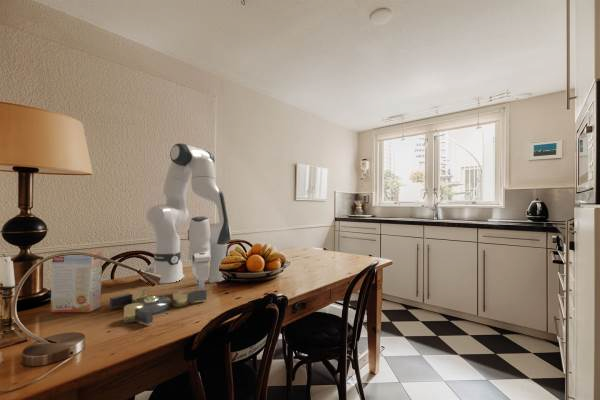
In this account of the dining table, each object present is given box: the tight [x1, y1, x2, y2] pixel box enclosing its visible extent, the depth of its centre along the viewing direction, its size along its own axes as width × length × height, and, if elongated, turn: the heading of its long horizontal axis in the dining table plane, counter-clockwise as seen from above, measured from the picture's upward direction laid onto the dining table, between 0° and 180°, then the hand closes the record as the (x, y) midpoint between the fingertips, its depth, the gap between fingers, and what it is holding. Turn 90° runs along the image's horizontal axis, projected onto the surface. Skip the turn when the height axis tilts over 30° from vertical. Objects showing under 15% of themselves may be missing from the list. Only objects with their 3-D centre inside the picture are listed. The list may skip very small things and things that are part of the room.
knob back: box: [109, 288, 147, 309], centre depth 105 cm, size 12×6×4 cm, turn 147°
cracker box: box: [50, 251, 103, 313], centre depth 100 cm, size 14×6×21 cm, turn 90°
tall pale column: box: [208, 243, 228, 284], centre depth 142 cm, size 11×4×22 cm, turn 140°
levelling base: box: [132, 295, 172, 316], centre depth 102 cm, size 13×13×5 cm
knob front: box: [123, 303, 154, 325], centre depth 90 cm, size 12×6×4 cm, turn 59°
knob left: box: [172, 289, 207, 308], centre depth 108 cm, size 12×6×4 cm, turn 117°
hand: (199, 287), depth 118 cm, fingers open, 8 cm apart
